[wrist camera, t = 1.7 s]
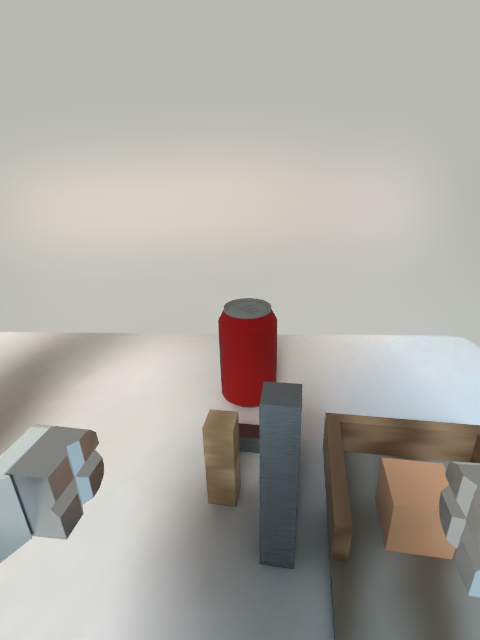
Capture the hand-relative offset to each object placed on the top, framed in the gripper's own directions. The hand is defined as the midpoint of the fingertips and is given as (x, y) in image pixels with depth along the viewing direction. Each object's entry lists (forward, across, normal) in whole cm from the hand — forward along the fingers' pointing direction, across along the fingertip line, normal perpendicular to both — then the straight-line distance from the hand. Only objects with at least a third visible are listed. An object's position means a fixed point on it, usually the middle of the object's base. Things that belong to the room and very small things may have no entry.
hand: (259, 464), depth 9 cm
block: (+15, -10, +20) cm, 27 cm away
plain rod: (+17, +5, +20) cm, 27 cm away
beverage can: (+32, +5, +20) cm, 38 cm away
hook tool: (+18, +3, +20) cm, 27 cm away
